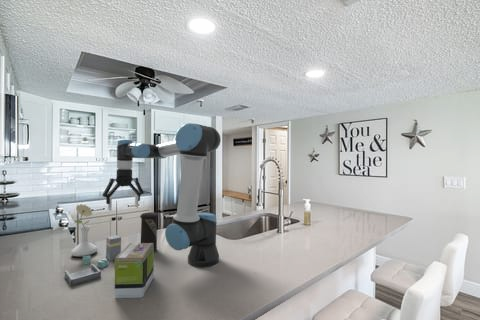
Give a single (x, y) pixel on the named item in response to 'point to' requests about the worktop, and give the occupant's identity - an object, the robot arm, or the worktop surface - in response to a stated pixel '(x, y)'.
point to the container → (149, 228)
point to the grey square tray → (83, 275)
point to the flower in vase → (84, 234)
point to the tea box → (134, 270)
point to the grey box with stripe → (113, 247)
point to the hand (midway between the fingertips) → (123, 208)
